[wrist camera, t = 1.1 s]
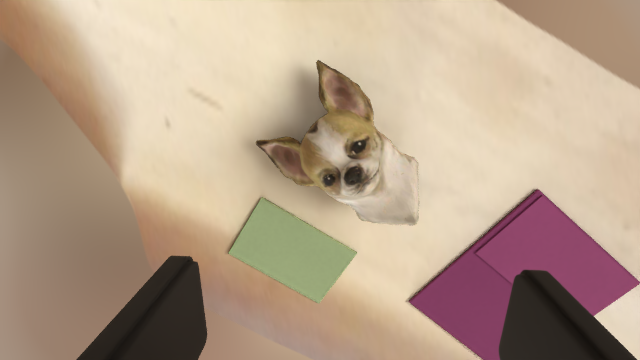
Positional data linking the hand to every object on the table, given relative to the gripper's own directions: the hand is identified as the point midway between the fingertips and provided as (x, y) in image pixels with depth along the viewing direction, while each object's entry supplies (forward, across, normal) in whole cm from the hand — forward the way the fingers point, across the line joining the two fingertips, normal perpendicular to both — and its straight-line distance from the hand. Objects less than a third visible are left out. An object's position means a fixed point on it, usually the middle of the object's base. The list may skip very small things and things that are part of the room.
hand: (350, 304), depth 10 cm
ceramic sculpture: (+25, 0, +1) cm, 25 cm away
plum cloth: (+24, -20, +17) cm, 35 cm away
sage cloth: (+24, +5, +13) cm, 28 cm away
